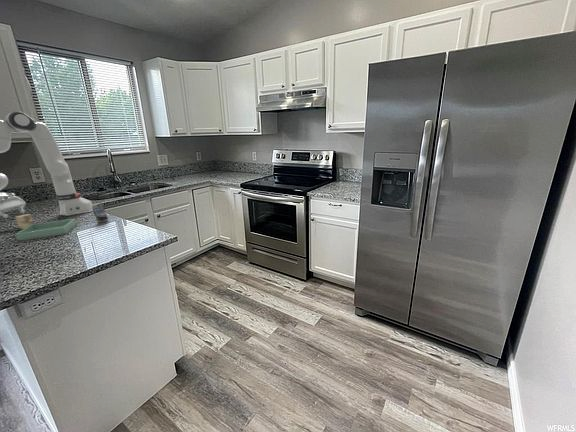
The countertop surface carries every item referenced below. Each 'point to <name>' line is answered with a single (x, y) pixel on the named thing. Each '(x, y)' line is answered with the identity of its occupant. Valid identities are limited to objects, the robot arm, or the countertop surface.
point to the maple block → (24, 221)
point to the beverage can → (99, 212)
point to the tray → (46, 229)
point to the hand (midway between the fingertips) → (15, 214)
